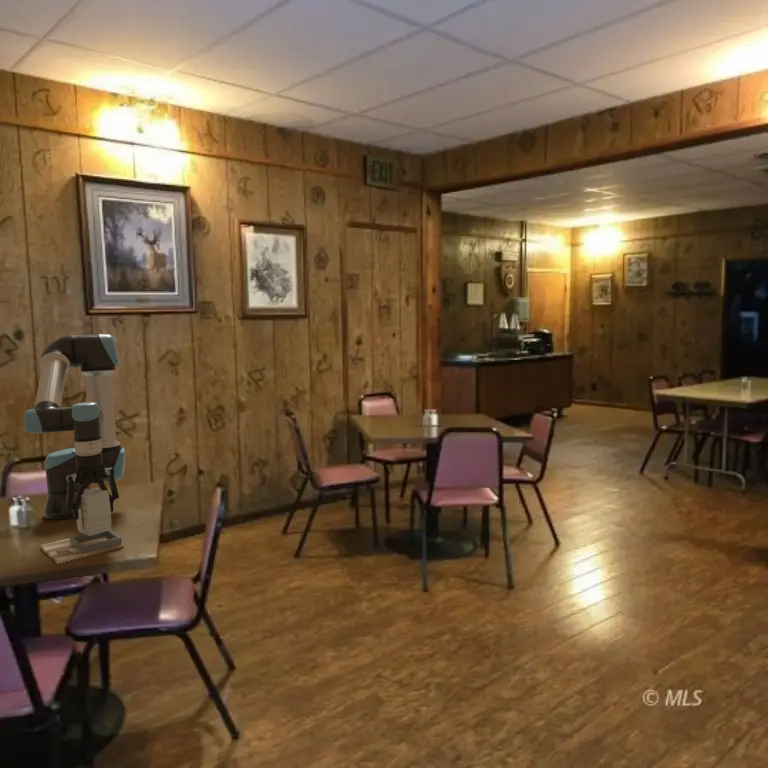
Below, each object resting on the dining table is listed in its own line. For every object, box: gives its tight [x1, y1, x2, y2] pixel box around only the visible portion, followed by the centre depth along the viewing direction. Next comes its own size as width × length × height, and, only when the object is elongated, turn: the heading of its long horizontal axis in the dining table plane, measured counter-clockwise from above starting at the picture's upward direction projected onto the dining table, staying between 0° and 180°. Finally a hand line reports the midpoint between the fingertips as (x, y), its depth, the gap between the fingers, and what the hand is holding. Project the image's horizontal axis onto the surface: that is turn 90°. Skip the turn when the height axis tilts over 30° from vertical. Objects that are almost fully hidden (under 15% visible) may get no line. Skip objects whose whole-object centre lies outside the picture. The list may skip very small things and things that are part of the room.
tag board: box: [39, 536, 124, 565], centre depth 201 cm, size 18×19×1 cm
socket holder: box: [70, 529, 123, 554], centre depth 201 cm, size 12×12×2 cm
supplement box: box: [75, 486, 113, 536], centre depth 200 cm, size 7×7×13 cm
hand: (94, 525), depth 201 cm, fingers closed on supplement box, 8 cm apart
